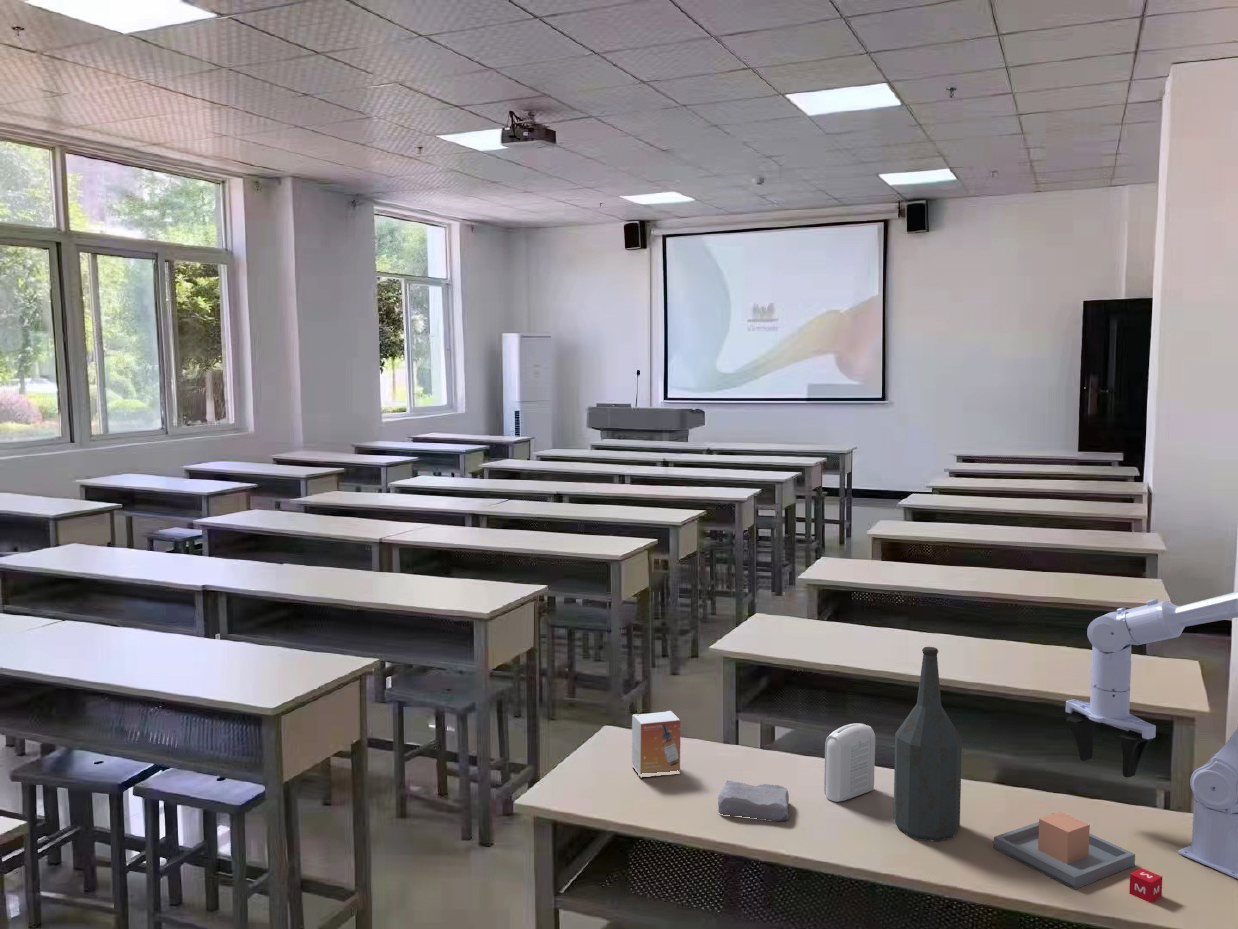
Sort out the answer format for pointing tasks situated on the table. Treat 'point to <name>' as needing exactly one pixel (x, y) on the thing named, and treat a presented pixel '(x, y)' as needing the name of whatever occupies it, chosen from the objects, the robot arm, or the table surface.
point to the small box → (656, 742)
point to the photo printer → (849, 762)
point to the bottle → (928, 763)
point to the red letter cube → (1145, 885)
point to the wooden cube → (1063, 837)
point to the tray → (1073, 875)
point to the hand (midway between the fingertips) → (1107, 767)
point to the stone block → (754, 801)
